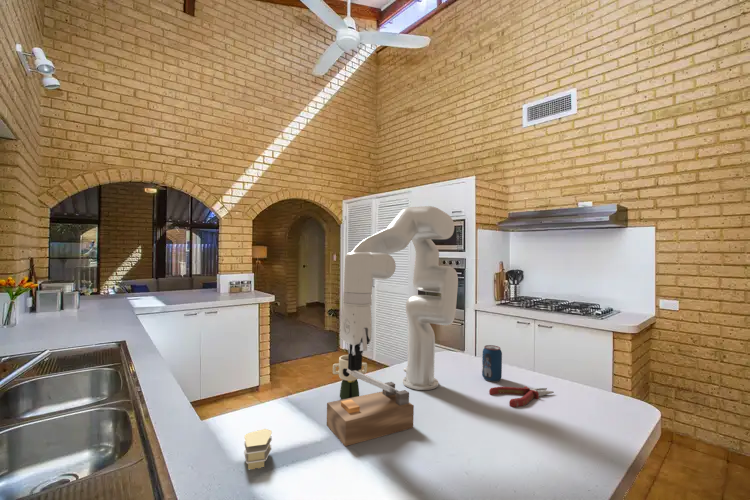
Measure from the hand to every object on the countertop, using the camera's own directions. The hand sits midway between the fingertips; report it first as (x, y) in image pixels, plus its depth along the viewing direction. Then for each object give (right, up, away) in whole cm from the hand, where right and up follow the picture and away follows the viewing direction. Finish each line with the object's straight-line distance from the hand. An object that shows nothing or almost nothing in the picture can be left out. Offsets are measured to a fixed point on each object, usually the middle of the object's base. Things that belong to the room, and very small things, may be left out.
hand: (354, 369), depth 95 cm
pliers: (+54, -18, +23) cm, 62 cm away
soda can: (+49, -17, +41) cm, 66 cm away
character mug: (-3, -16, +21) cm, 27 cm away
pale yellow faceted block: (-21, -16, -14) cm, 30 cm away
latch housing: (+4, -16, +3) cm, 17 cm away
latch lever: (+5, -5, +3) cm, 8 cm away
